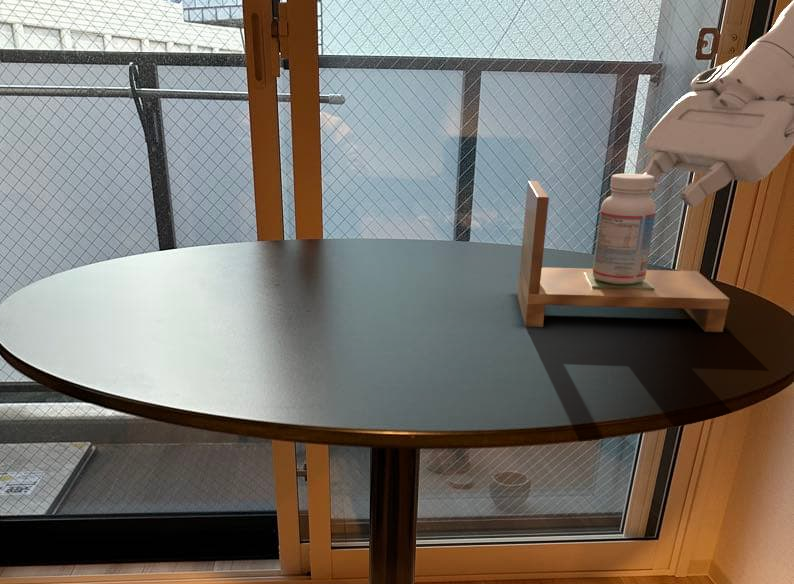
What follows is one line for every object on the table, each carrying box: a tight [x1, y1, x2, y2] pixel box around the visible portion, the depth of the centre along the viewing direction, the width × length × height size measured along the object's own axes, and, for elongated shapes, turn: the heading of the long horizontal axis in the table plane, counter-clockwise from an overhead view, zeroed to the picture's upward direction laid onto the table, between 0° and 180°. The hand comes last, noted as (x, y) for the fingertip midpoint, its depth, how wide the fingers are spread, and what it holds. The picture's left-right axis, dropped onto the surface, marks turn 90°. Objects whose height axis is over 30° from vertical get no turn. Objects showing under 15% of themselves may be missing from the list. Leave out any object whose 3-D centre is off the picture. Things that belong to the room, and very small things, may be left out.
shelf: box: [517, 180, 731, 333], centre depth 93 cm, size 22×14×14 cm, turn 86°
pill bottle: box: [592, 173, 657, 284], centre depth 92 cm, size 6×6×11 cm
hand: (662, 196), depth 91 cm, fingers open, 8 cm apart
